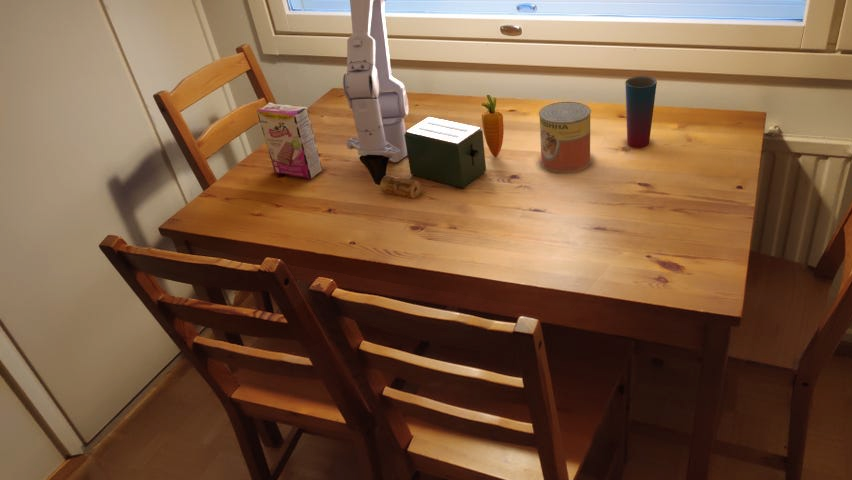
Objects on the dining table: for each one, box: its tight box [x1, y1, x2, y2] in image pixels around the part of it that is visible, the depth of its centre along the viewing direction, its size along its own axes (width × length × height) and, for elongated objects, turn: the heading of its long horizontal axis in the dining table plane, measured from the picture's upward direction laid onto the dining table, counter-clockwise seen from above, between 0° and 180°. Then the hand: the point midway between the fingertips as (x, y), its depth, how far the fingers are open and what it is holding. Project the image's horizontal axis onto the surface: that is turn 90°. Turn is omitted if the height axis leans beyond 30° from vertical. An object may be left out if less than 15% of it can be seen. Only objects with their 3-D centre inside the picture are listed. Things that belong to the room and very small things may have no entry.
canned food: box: [538, 101, 592, 174], centre depth 154 cm, size 11×11×12 cm
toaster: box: [404, 116, 487, 190], centre depth 154 cm, size 16×9×11 cm, turn 55°
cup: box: [624, 75, 658, 149], centre depth 157 cm, size 7×7×15 cm
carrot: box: [481, 93, 505, 158], centre depth 158 cm, size 5×5×15 cm
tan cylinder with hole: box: [379, 174, 421, 200], centre depth 150 cm, size 8×4×4 cm, turn 62°
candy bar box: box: [256, 102, 323, 180], centre depth 160 cm, size 11×5×16 cm, turn 65°
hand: (380, 182), depth 154 cm, fingers closed
